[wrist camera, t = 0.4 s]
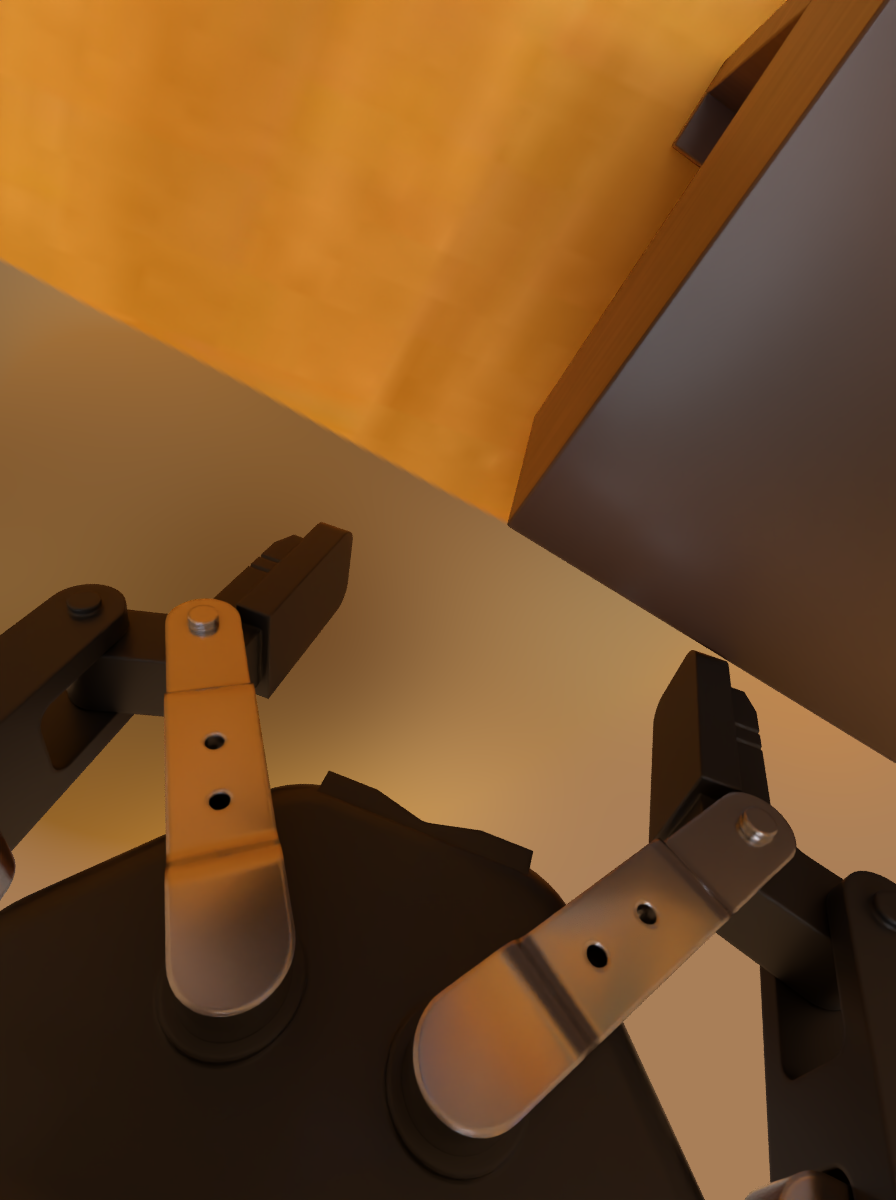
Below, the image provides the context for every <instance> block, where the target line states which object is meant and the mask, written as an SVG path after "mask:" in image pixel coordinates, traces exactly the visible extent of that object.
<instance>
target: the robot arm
mask: <svg viewBox="0 0 896 1200" xmlns="http://www.w3.org/2000/svg"><path fill="white" fill-rule="evenodd" d="M352 540H353V537H352V533H351V532H349V531H346V530H343V529H340V528H337V527H334V526H331V525H328V524H326V523H323V522H320V523H319V524H317V525H316V526H315V527H314V528H313V529H312V530H311V531H310V532H309V533H308V534H307V535H306V536H305V537H304V538H301V537H299V536H296V535H292V536H290V537H287V538H284V539H282V540H279V541H277V542H274V543H273V544H272V545H271V546H270V547H269V548H268V549H267V550H266V551H265V552H263V554H262V555H261V557H258V558H257V559H256V560H255V561H254V562H253V563H251V566H250V567H249V566H248V567H247V568H246V569H245V570H244V571H243V572H242V573H241V574H240V575H238V576H237V577H236V578H235V579H234V580H233V581H232V582H231V583H230V584H229V585H228V586H227V587H225V588H224V589H223V590H222V591H221V592H220V593H219V594H218V595H217V596H216V597H215V598H214V599H207V598H205V599H195V600H190V601H187V602H184V603H182V604H180V605H178V606H177V607H175V608H174V609H172V610H171V611H170V613H169V614H163V613H153V612H144V611H135V610H127V605H126V601H125V597H124V596H123V594H122V593H120V592H119V591H118V590H116V589H114V588H112V587H109V586H105V585H99V584H85V585H79V586H74V587H70V588H67V589H64V590H62V591H60V592H58V593H56V594H55V595H53V596H52V597H51V598H49V599H48V600H47V601H45V602H44V603H43V604H41V605H40V606H39V607H37V608H36V609H35V610H33V611H32V612H31V613H29V614H28V615H27V616H25V617H24V618H23V619H21V620H20V621H19V622H17V623H16V624H15V625H13V626H12V627H11V628H9V629H8V630H7V631H5V632H4V633H3V634H1V635H0V900H1V898H2V897H3V896H4V894H5V893H6V891H7V889H8V888H9V886H10V884H11V882H12V880H13V877H14V873H15V859H14V857H13V854H12V852H11V851H12V850H13V849H14V848H15V847H16V846H17V844H18V843H19V842H20V841H21V840H22V839H23V838H24V837H25V835H26V834H27V833H28V832H29V831H30V830H31V829H32V828H33V826H34V825H35V824H36V823H37V822H38V821H39V820H40V819H41V818H42V817H43V815H44V814H45V813H46V812H47V811H48V810H49V809H50V808H51V806H52V805H53V804H54V803H55V802H56V801H57V800H58V799H59V798H60V796H61V795H62V794H63V793H64V792H65V791H66V790H67V789H68V788H69V786H70V785H71V784H72V783H73V782H74V781H75V779H77V777H78V776H79V775H80V774H81V773H82V772H83V771H84V770H85V769H86V767H87V766H88V765H89V764H90V763H91V762H92V761H93V760H94V758H95V757H96V756H97V755H98V754H99V753H100V752H101V751H102V749H103V748H104V747H105V746H106V745H107V744H108V743H109V742H110V740H111V739H112V738H113V737H114V736H115V735H116V734H117V733H118V732H119V730H120V729H121V728H122V727H123V726H124V725H125V724H126V723H127V722H128V721H129V719H130V718H131V717H132V716H133V715H134V714H140V715H152V716H164V743H165V744H164V746H165V806H166V807H165V808H166V809H165V812H166V834H165V835H162V836H160V837H158V838H156V839H153V840H151V841H149V842H147V843H145V844H142V845H140V846H138V847H136V848H133V849H131V850H129V851H127V852H125V853H122V854H120V855H118V856H115V857H113V858H111V859H109V860H107V861H104V862H102V863H100V864H97V865H95V866H93V867H91V868H89V869H86V870H84V871H82V872H80V873H77V874H75V875H73V876H71V877H69V878H66V879H64V880H62V881H60V882H57V883H55V884H53V885H50V886H48V887H46V888H44V889H42V890H39V891H37V892H35V893H33V894H31V895H28V896H26V897H24V898H22V899H20V900H19V901H16V902H14V903H13V904H11V905H9V906H7V907H6V908H4V909H3V910H1V911H0V1200H705V1199H704V1197H703V1195H702V1193H701V1190H700V1188H699V1186H698V1185H697V1182H696V1180H695V1178H694V1176H693V1173H692V1171H691V1169H690V1167H689V1164H688V1162H687V1160H686V1158H685V1156H684V1154H683V1152H682V1149H681V1147H680V1145H679V1143H678V1141H677V1138H676V1136H675V1134H674V1132H673V1130H672V1127H671V1125H670V1123H669V1121H668V1119H667V1117H666V1114H665V1112H664V1110H663V1108H662V1106H661V1104H660V1102H659V1099H658V1097H657V1095H656V1093H655V1091H654V1088H653V1086H652V1084H651V1082H650V1080H649V1078H648V1076H647V1073H646V1071H645V1069H644V1067H643V1064H642V1062H641V1060H640V1058H639V1056H638V1054H637V1051H636V1049H635V1047H634V1045H633V1043H632V1041H631V1039H630V1036H629V1034H628V1032H627V1030H626V1028H625V1025H624V1023H623V1021H624V1020H625V1019H626V1018H627V1017H628V1016H629V1015H630V1014H631V1013H632V1012H633V1011H634V1010H635V1009H637V1007H639V1006H640V1005H641V1004H642V1002H644V1001H645V1000H646V999H647V998H648V997H649V996H650V995H651V994H652V993H653V992H654V991H655V990H656V989H657V988H658V987H659V986H660V985H661V984H662V983H663V982H665V981H666V980H667V979H668V978H669V977H670V976H671V975H672V974H673V973H674V972H675V971H676V970H677V969H678V968H679V967H680V966H681V965H682V964H683V963H684V962H685V961H686V960H687V959H688V958H689V957H690V956H691V955H692V954H694V953H695V952H696V951H697V950H698V949H699V948H700V947H701V946H702V945H703V944H704V943H705V942H706V941H707V940H708V939H709V938H710V937H711V936H712V935H713V934H714V933H715V932H716V933H717V934H718V935H720V936H721V937H722V938H724V939H725V940H726V941H728V942H729V943H730V944H732V945H733V946H734V947H736V948H737V949H739V950H740V951H741V952H743V953H744V954H745V955H747V956H748V957H749V958H751V959H752V960H753V961H755V962H756V963H757V964H759V965H760V977H761V998H762V1018H763V1040H764V1058H765V1080H766V1101H767V1122H768V1142H769V1163H770V1182H771V1183H770V1184H767V1185H764V1186H762V1187H759V1188H757V1189H755V1190H753V1191H752V1192H751V1193H750V1194H749V1195H748V1196H747V1197H746V1198H745V1200H896V884H895V883H893V882H892V881H890V880H889V879H887V878H885V877H882V876H881V875H878V874H875V873H872V872H867V871H857V872H854V873H852V874H850V875H849V876H848V877H846V878H845V879H844V880H843V879H842V878H840V877H839V876H837V875H835V874H834V873H832V872H831V871H829V870H828V869H826V868H825V867H823V866H822V865H820V864H819V863H817V862H816V861H814V860H813V859H811V858H810V857H808V856H807V855H805V854H804V853H802V852H801V851H800V850H799V849H798V848H797V847H796V840H795V837H794V833H793V831H792V829H791V827H790V826H789V824H788V823H787V821H786V820H785V819H784V817H783V816H782V815H781V814H780V813H779V812H778V811H777V810H776V809H775V808H774V807H772V806H771V805H770V798H769V792H768V785H767V778H766V773H765V765H764V759H763V752H762V750H761V747H762V746H761V739H760V735H759V734H758V733H759V726H758V719H757V713H756V711H755V709H754V707H753V706H752V704H751V702H750V701H749V699H748V697H747V696H746V694H745V692H743V691H740V690H738V689H735V688H732V687H731V683H730V674H729V666H728V663H727V661H724V660H721V659H718V658H715V657H712V656H709V655H706V654H703V653H700V652H697V651H694V650H691V651H690V652H689V653H688V654H687V655H686V657H685V659H684V660H683V662H682V664H681V665H680V667H679V669H678V670H677V672H676V674H675V675H674V677H673V679H672V680H671V682H670V684H669V685H668V687H667V689H666V690H665V692H664V694H663V695H662V697H661V699H660V702H659V704H658V706H657V709H656V713H655V717H654V724H653V748H652V774H651V800H650V827H649V844H648V845H646V846H645V847H644V848H642V849H641V850H640V851H639V852H637V853H636V854H634V855H633V856H632V857H630V858H629V859H628V860H626V861H625V862H623V863H622V864H621V865H619V866H618V867H617V868H615V869H614V870H613V871H611V872H610V873H609V874H607V875H606V876H605V877H603V878H602V879H600V880H599V881H598V882H596V883H595V884H594V885H592V886H591V887H590V888H588V889H587V890H586V891H584V892H583V893H582V894H580V895H579V896H577V897H576V898H575V899H574V900H572V901H571V902H569V903H568V904H567V905H566V904H565V902H564V901H563V900H562V899H561V897H560V896H559V895H558V893H557V892H556V891H555V890H554V889H553V888H552V887H551V886H550V885H549V884H548V883H547V882H546V881H545V880H544V879H542V877H540V876H539V875H538V874H537V873H536V872H534V871H533V870H531V869H530V863H531V859H532V854H533V851H532V850H529V849H527V848H524V847H522V846H519V845H517V844H514V843H511V842H509V841H506V840H504V839H501V838H499V837H496V836H493V835H491V834H488V833H486V832H483V831H480V830H473V829H467V828H460V827H453V826H445V825H439V824H432V823H427V822H424V821H422V820H420V819H419V818H417V817H416V816H414V815H413V814H411V813H410V812H409V811H407V810H406V809H404V808H403V807H401V806H400V805H399V804H397V803H396V802H394V801H393V800H391V799H390V798H389V797H387V796H386V795H384V794H383V793H382V792H380V791H378V790H377V789H374V788H372V787H369V786H367V785H364V784H362V783H359V782H357V781H354V780H352V779H349V778H347V777H344V776H341V775H339V774H336V773H334V772H331V771H328V773H327V775H326V777H325V778H324V780H323V782H322V784H321V785H314V784H295V785H285V786H280V787H275V788H272V789H270V783H269V777H268V770H267V764H266V758H265V752H264V745H263V739H262V732H261V726H260V719H259V713H258V707H257V701H256V694H257V695H259V696H262V697H265V698H268V699H269V697H270V696H271V695H272V693H273V692H274V691H275V690H276V688H277V687H278V686H279V684H280V683H281V682H282V681H283V679H284V678H285V677H286V675H287V674H288V673H289V672H290V670H291V669H292V668H293V666H294V665H295V664H296V662H297V661H298V660H299V658H300V657H301V656H302V655H303V653H304V652H305V651H306V650H307V648H308V647H309V646H310V644H311V643H312V642H313V641H314V639H315V638H316V637H317V635H318V634H319V633H320V632H321V630H322V629H323V627H324V626H325V625H326V624H327V622H328V621H329V620H330V619H331V617H332V616H333V615H334V613H335V612H336V611H337V609H338V608H339V606H340V605H341V603H342V600H343V598H344V595H345V593H346V589H347V584H348V575H349V567H350V558H351V549H352Z"/></svg>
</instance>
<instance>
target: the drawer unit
mask: <svg viewBox="0 0 896 1200" xmlns="http://www.w3.org/2000/svg"><path fill="white" fill-rule="evenodd" d="M672 146H673V148H674V149H676V150H677V151H679V152H680V153H681V154H683V155H684V156H685V157H687V158H688V159H689V160H691V161H692V162H693V163H695V164H696V165H697V166H699V167H700V169H699V171H698V172H697V174H696V175H695V177H694V178H693V180H692V181H691V183H690V184H689V186H688V187H687V189H686V190H685V192H684V193H683V195H682V196H681V198H680V199H679V201H678V202H677V204H676V205H675V207H674V208H673V210H672V211H671V213H670V214H669V216H668V217H667V219H666V220H665V222H664V223H663V225H662V226H661V228H660V229H659V231H658V232H657V234H656V235H655V237H654V238H653V240H652V241H651V243H650V244H649V246H648V247H647V249H646V250H645V252H644V253H643V255H642V256H641V258H640V259H639V261H638V262H637V264H636V265H635V267H634V268H633V270H632V271H631V273H630V274H629V276H628V277H627V279H626V280H625V282H624V283H623V285H622V286H621V288H620V289H619V291H618V292H617V294H616V295H615V297H614V298H613V300H612V301H611V303H610V304H609V306H608V307H607V309H606V310H605V312H604V313H603V315H602V316H601V318H600V319H599V321H598V322H597V324H596V325H595V327H594V328H593V330H592V331H591V333H590V334H589V336H588V337H587V339H586V340H585V342H584V343H583V345H582V346H581V348H580V349H579V351H578V352H577V354H576V355H575V357H574V358H573V360H572V361H571V363H570V364H569V366H568V367H567V369H566V370H565V372H564V373H563V375H562V376H561V378H560V379H559V381H558V382H557V384H556V385H555V387H554V388H553V390H552V392H551V393H550V395H549V396H548V398H547V399H546V401H545V402H544V404H543V405H542V407H541V408H540V410H539V411H538V413H537V414H536V416H535V417H534V421H533V425H532V429H531V433H530V437H529V441H528V445H527V449H526V453H525V457H524V461H523V465H522V468H521V472H520V476H519V480H518V484H517V488H516V492H515V496H514V500H513V504H512V508H511V512H510V516H509V520H508V524H507V525H508V526H509V527H510V528H512V529H513V530H515V531H517V532H518V533H520V534H522V535H523V536H525V537H527V538H528V539H530V540H531V541H533V542H535V543H536V544H538V545H540V546H541V547H543V548H544V549H546V550H548V551H549V552H551V553H553V554H554V555H556V556H558V557H559V558H561V559H562V560H564V561H566V562H567V563H569V564H571V565H572V566H574V567H576V568H577V569H579V570H580V571H582V572H584V573H586V574H587V575H589V576H590V577H592V578H594V579H595V580H597V581H598V582H600V583H602V584H604V585H605V586H607V587H608V588H610V589H612V590H613V591H615V592H617V593H618V594H620V595H621V596H623V597H625V598H626V599H628V600H629V601H631V602H633V603H634V604H636V605H638V606H639V607H641V608H643V609H644V610H646V611H647V612H649V613H651V614H653V615H654V616H656V617H658V618H659V619H661V620H662V621H664V622H666V623H667V624H669V625H671V626H672V627H674V628H675V629H677V630H679V631H680V632H682V633H683V634H685V635H687V636H689V637H690V638H692V639H693V640H695V641H696V642H698V643H700V644H701V645H703V646H705V647H706V648H708V649H710V650H711V651H713V652H714V653H716V654H718V655H719V656H721V657H723V658H724V659H726V660H728V661H729V662H731V663H732V664H734V665H736V666H737V667H739V668H741V669H742V670H744V671H746V672H747V673H749V674H750V675H752V676H754V677H755V678H757V679H759V680H760V681H762V682H763V683H765V684H767V685H768V686H770V687H772V688H773V689H775V690H777V691H778V692H780V693H781V694H783V695H785V696H787V697H788V698H790V699H791V700H793V701H795V702H796V703H798V704H799V705H801V706H803V707H804V708H806V709H808V710H809V711H811V712H813V713H814V714H816V715H818V716H819V717H821V718H822V719H824V720H826V721H827V722H829V723H830V724H832V725H834V726H836V727H837V728H839V729H840V730H842V731H844V732H845V733H847V734H848V735H850V736H852V737H854V738H855V739H857V740H858V741H860V742H862V743H863V744H865V745H867V746H868V747H870V748H871V749H873V750H875V751H876V752H878V753H880V754H881V755H883V756H885V757H886V758H888V759H889V760H891V761H893V762H894V763H896V0H787V1H786V2H785V3H784V4H783V5H782V6H781V7H780V8H779V9H778V10H777V11H776V12H775V13H774V14H773V15H772V16H771V17H770V18H769V19H768V20H767V21H766V22H765V23H764V24H763V25H762V26H761V27H759V28H758V29H757V30H756V31H755V32H754V33H753V34H752V35H751V36H750V37H749V38H748V39H747V40H746V41H745V42H744V43H743V44H742V45H741V46H740V47H739V48H738V49H737V50H736V51H735V52H734V53H733V54H732V55H731V56H730V57H729V58H728V59H727V60H726V61H725V62H724V64H723V65H722V67H721V68H720V70H719V72H718V73H717V75H716V76H715V78H714V80H713V81H712V83H711V84H710V86H709V87H708V89H707V91H706V92H705V94H704V95H703V97H702V99H701V100H700V102H699V103H698V105H697V107H696V108H695V110H694V111H693V113H692V114H691V116H690V118H689V119H688V121H687V122H686V124H685V126H684V127H683V129H682V130H681V132H680V134H679V135H678V137H677V138H676V140H675V142H674V143H673V145H672Z"/></svg>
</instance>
